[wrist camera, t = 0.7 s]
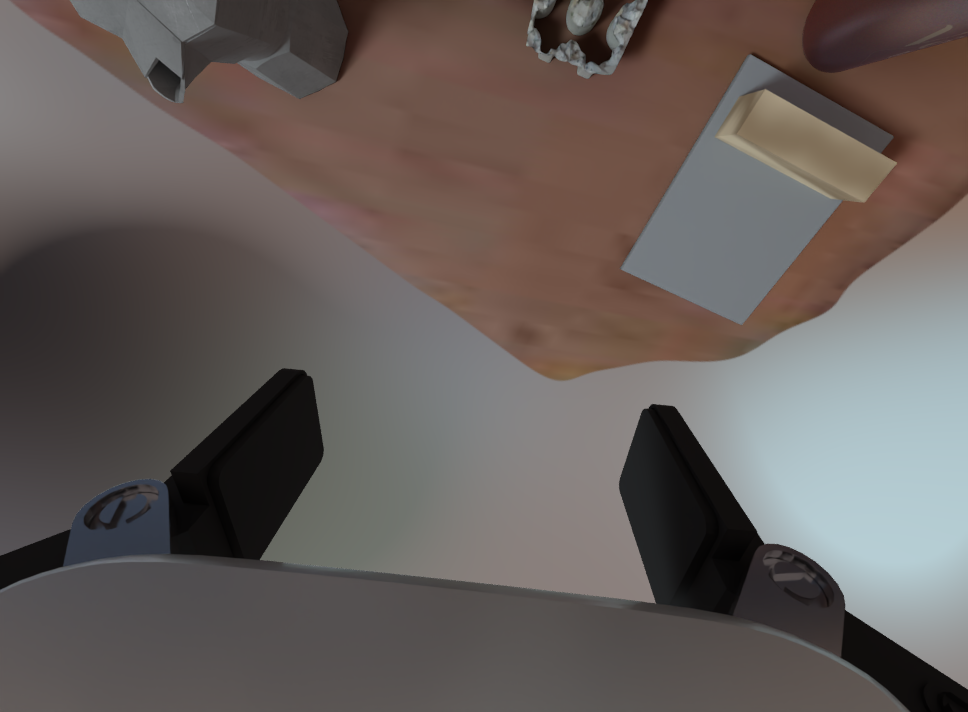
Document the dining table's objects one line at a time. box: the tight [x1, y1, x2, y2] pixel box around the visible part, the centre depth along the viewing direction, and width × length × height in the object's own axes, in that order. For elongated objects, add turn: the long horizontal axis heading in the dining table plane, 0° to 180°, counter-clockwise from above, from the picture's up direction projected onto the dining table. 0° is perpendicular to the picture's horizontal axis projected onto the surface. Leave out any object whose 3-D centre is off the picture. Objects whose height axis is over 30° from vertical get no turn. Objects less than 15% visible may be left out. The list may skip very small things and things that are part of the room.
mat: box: [620, 54, 894, 325], centre depth 34 cm, size 18×14×1 cm
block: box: [715, 89, 897, 202], centre depth 30 cm, size 3×12×4 cm, turn 67°
